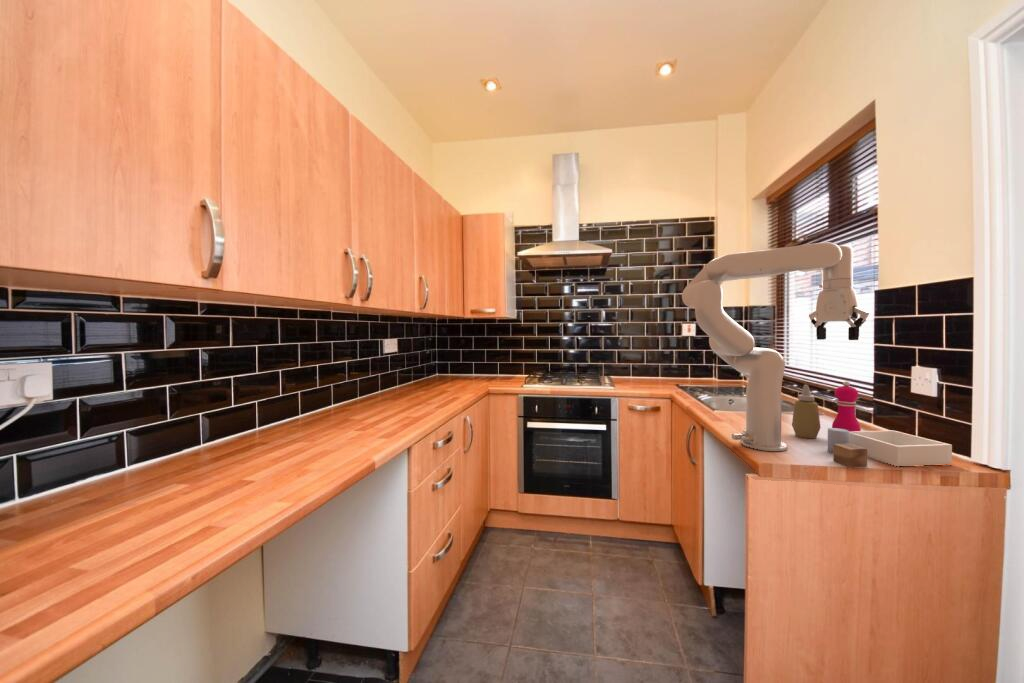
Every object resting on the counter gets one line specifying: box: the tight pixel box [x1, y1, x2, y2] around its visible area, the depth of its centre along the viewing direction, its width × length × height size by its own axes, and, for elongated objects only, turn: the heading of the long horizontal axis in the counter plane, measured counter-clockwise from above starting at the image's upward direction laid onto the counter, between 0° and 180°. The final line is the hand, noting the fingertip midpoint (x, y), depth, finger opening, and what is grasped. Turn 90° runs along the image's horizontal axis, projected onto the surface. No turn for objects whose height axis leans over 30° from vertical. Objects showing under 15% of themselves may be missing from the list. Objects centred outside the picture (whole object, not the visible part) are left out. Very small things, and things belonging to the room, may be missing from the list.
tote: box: [849, 429, 953, 468], centre depth 113 cm, size 16×16×6 cm
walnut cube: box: [833, 443, 868, 468], centre depth 108 cm, size 5×5×5 cm
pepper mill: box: [831, 380, 862, 432], centre depth 129 cm, size 7×7×20 cm
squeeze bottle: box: [791, 384, 822, 439], centre depth 136 cm, size 8×8×18 cm
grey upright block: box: [827, 427, 849, 455], centre depth 118 cm, size 5×5×7 cm
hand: (836, 339), depth 124 cm, fingers open, 9 cm apart
